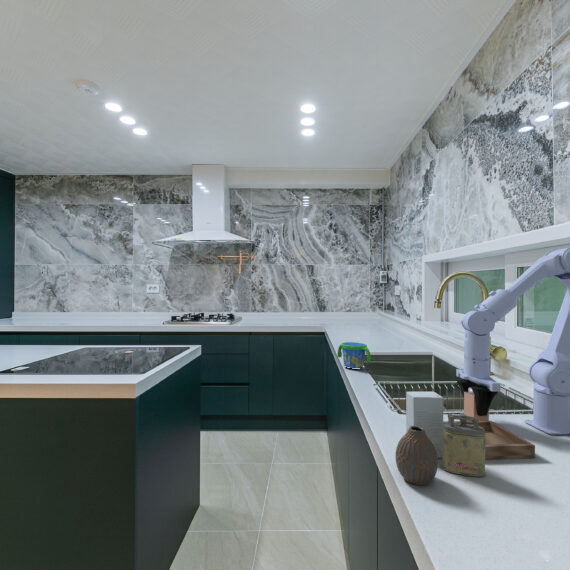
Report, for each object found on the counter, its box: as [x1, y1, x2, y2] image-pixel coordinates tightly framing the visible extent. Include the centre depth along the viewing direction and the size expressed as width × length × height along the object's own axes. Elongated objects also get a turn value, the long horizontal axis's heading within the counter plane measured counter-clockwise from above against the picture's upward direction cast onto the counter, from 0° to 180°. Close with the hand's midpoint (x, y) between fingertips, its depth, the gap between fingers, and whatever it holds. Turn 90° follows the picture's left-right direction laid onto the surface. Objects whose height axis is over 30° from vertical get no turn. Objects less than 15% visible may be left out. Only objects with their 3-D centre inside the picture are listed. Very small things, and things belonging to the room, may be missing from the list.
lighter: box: [441, 413, 486, 478], centre depth 63 cm, size 7×4×10 cm, turn 74°
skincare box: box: [405, 391, 444, 459], centre depth 70 cm, size 6×4×12 cm
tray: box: [443, 420, 536, 460], centre depth 75 cm, size 13×13×2 cm
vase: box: [395, 426, 439, 486], centre depth 61 cm, size 7×7×9 cm
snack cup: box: [337, 341, 372, 368], centre depth 146 cm, size 16×10×10 cm
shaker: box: [463, 387, 490, 421], centre depth 88 cm, size 4×4×8 cm
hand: (476, 412), depth 88 cm, fingers closed on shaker, 4 cm apart
